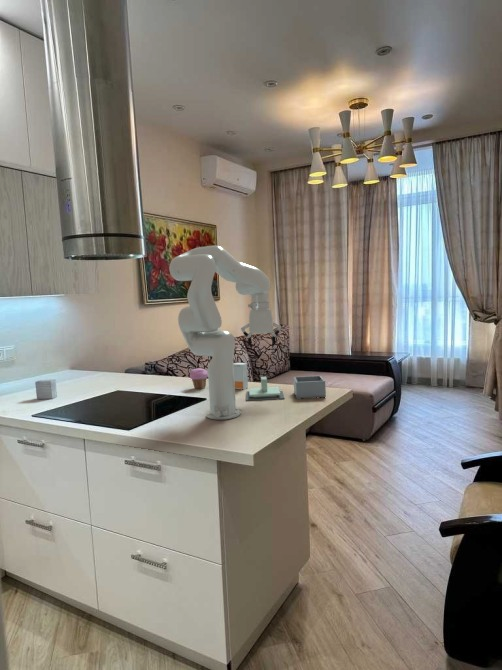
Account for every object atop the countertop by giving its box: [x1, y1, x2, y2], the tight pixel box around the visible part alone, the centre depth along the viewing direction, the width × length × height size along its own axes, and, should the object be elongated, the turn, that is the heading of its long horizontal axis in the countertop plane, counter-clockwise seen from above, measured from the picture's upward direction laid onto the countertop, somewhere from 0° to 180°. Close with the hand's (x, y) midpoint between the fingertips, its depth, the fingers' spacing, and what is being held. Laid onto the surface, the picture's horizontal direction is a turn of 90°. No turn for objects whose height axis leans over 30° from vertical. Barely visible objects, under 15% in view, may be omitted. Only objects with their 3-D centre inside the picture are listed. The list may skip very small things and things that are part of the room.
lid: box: [248, 376, 281, 398], centre depth 190 cm, size 13×13×7 cm
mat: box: [245, 390, 285, 402], centre depth 191 cm, size 16×16×1 cm
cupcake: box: [189, 367, 208, 390], centre depth 213 cm, size 9×9×10 cm
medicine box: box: [34, 378, 58, 400], centre depth 209 cm, size 8×4×9 cm, turn 84°
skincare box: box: [233, 362, 249, 390], centre depth 207 cm, size 6×4×12 cm
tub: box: [293, 375, 327, 400], centre depth 187 cm, size 12×12×7 cm
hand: (262, 346), depth 189 cm, fingers open, 9 cm apart
